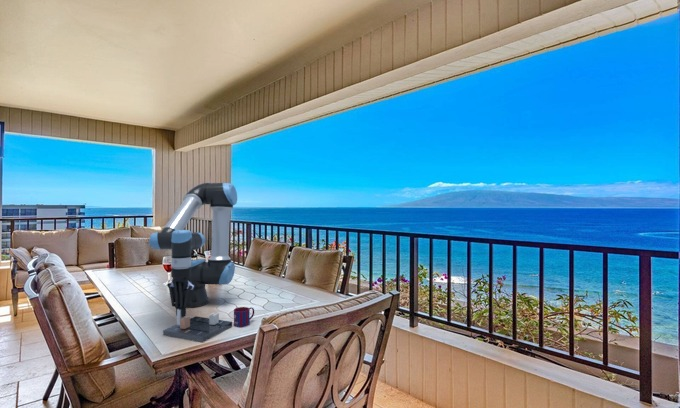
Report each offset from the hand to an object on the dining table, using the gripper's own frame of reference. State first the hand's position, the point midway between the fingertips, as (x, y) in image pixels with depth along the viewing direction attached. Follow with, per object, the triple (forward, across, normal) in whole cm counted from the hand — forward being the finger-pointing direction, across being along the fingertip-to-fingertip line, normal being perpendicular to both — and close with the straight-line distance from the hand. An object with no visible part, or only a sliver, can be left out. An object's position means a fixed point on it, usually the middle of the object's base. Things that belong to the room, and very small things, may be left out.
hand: (180, 323), depth 140 cm
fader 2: (+1, +10, +8) cm, 13 cm away
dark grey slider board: (+4, +6, +4) cm, 8 cm away
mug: (+4, +18, +18) cm, 26 cm away
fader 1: (+1, +2, 0) cm, 2 cm away
